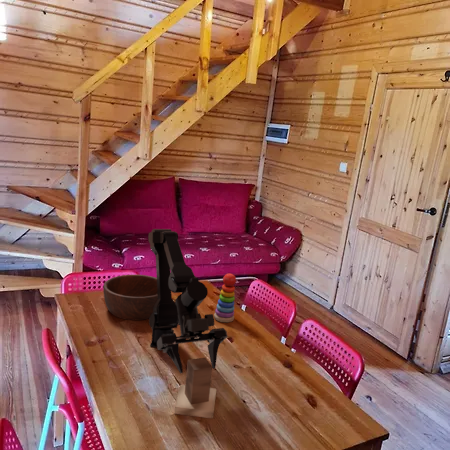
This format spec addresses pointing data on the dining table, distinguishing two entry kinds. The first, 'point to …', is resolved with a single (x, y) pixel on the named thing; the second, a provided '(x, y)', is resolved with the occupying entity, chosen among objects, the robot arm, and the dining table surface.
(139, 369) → the dining table surface
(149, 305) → the wooden bowl
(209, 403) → the birch plinth
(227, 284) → the stacking toy
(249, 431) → the dining table surface
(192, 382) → the walnut pillar
